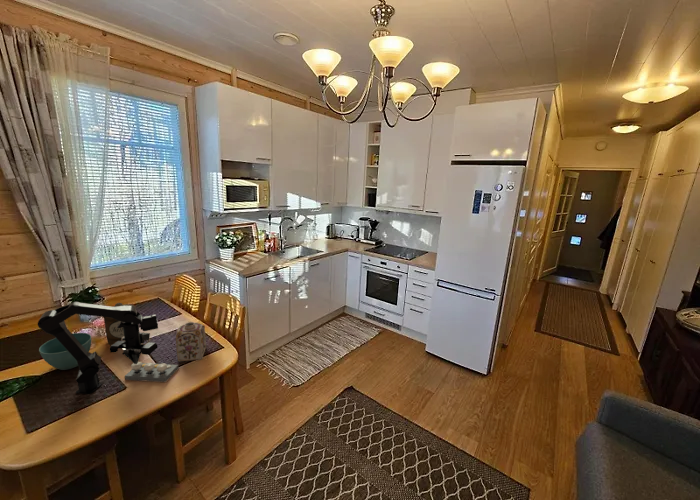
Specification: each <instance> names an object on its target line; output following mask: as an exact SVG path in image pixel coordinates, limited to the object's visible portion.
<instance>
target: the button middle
mask: <svg viewBox="0 0 700 500" xmlns="http://www.w3.org/2000/svg"><path fill="white" fill-rule="evenodd" d="M146 363H147V364H145V365H144V370H145V371H148V373H151V372H152V370H153V369H154V368H155V366H154V364H155V363H154V362H146Z"/></svg>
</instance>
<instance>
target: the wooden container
mask: <svg viewBox="0 0 700 500" xmlns="http://www.w3.org/2000/svg"><path fill="white" fill-rule="evenodd" d="M118 306H134V307H135V308H136V305H134V304H127V303H126V304H123V303H122V302H116V303H115V304H114V306H112V307H118ZM136 309H137V308H136ZM103 321H104V329H105V336H106V342H107V344H108V345H110V346H111V345H113V344H114V343H116V342H117V341H121V340H122V338H123V337H124V332H123V327H122V328H117V324H118V323H120V321H118V320H115V319H113V318H110V317H103ZM138 325H139V326H140V324H138Z"/></svg>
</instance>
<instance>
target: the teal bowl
mask: <svg viewBox="0 0 700 500" xmlns="http://www.w3.org/2000/svg"><path fill="white" fill-rule="evenodd" d="M72 334H73V335H74V337H75V338H76V339H77V340H78V341H79V342H80V343H81V345H82V346H83V347H84V348H85V349H86V350H87V351H88V352H90V350H91V346H92V335H91V334H90V333H87V332H74V333H72ZM38 352H39V354H40V356H41V357H42V359H43V361H45V362H46V363H47V364H48V365H50V366H51V367H52V368H55V369H58V370H62V371H63V370H64V371H65V370H66V371H67V370H72V369H73V368H76V367H79V366H78V363H77V360H76V359H75V358H74V357H73V356H72V355H71V354H70V353H69V352H68V350H67V349H66V348H65V347H64V346H63V345H62V344H61V343H60V342H59V341H58V340H57V338H56V337H55V338H53V339H52V338H51V339H50V340H47V341H46V342H45V343H43V344H42V345H40V347H39V349H38Z"/></svg>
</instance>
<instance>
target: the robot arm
mask: <svg viewBox="0 0 700 500" xmlns="http://www.w3.org/2000/svg"><path fill="white" fill-rule="evenodd" d="M134 306H135V305H134ZM134 306H118V307H113V306H109V305H101V304H92V303H86V302H79V301H73V302H71V303H69V304H66V305H63V306H60V307H58V308H55V309H54V310H53V309H52V310H51V309H50V310H47V311H45V312H44V313H42V315H41V316H40V318H39V319H38V322H37V328H39V329H40V330H42V331H43V332H44V333H46V334H49V335H52V336H54V337H55V338H57V340H58V341H59V342H60V343H61V344H62V345H63V346H64V347H65V348H66V349H67V350H68V352H69V353H70V354H71V355H72V356H73V357H74V358H75V359H76V360H77V363H78V366H77V367H78V371H77V375H76V378H75V381H76V383H77V387H78V390H76V391H75V393H76V394H80V395H81V394H83V395H86V394H87V395H91V394H92V393H93V392H95V390H97V389H98V388H100V387H101V386H102V385H103V383H102V382H100V378H99V375H98V372H99V371H100V368H101V362H102V361H101V358H102V357H101V356H100V355H98V352H97V351H96V350H95V351H93V352H90V351H89V352H88V351H87V350H86V349H85V348H84V347H83V346H82V345H81V343H80V342H79V341H78V340H77V339H76V338H75V337H74V335H73V333H72V332H71V331H70V330H69V329H68V327H67V326H66V322H65V321H66V320H68V319H69V318H71V317H72V316H74V315H83V316H93V317H100V318H101V317H102V318H104V317H110V318H113V319H115V320H118V321H120V323H118V324H117V328H122V327H123V332H124V338H122V341H117V342H116V343H114V344H113V345H110V346H109V353H115V354H116V353H117V352H118V351H119V350H120V349H121V350H122V351H123V352H122V355H124V356H125V357H126V358H127V359H129V360H130V361H131V363H132V364H133V363H134V364H137V363H138V362H140V361H139V360H140V357H141V355H146V356H148V355H151V354H152V353H153V352H154V351H155V350H157V349H158V347H159V346H158V343H156V342H149V343H147V342H146V343H147V344H146V345H145V341H148V340H149V338H150V337H151V333H150V332H148V331H152V330H158V329H159V324H158V323H159V322H158V319H157V314H156V313H155V314H151V315H146V316H143V314H141V312H139V311H137V308H135V307H136V306H135V307H134ZM138 324H139V325H138ZM140 330H141V331H143V332H140ZM142 343H143V344H142Z"/></svg>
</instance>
